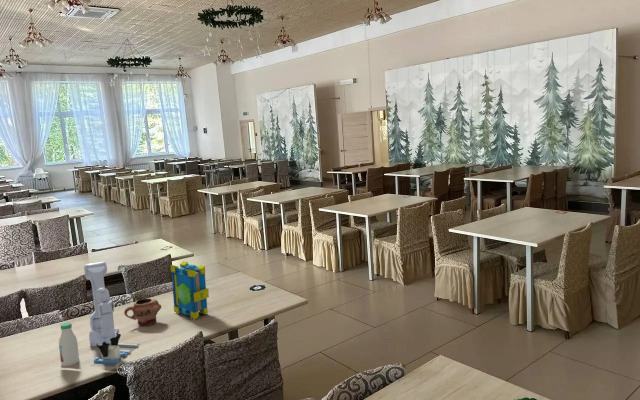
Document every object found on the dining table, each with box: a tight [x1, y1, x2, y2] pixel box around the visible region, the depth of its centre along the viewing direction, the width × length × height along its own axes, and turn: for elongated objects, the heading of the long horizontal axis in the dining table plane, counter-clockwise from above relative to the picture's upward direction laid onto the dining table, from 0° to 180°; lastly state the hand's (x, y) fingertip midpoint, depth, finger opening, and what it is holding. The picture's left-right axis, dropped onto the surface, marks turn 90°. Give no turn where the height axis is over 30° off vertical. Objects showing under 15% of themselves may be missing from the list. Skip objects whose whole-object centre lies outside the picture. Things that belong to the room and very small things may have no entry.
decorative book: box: [170, 260, 210, 320], centre depth 286 cm, size 14×23×30 cm, turn 53°
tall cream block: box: [101, 344, 120, 360], centre depth 230 cm, size 7×4×6 cm, turn 80°
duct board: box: [90, 342, 141, 368], centre depth 236 cm, size 12×24×3 cm, turn 170°
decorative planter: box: [124, 297, 162, 327], centre depth 273 cm, size 20×12×14 cm, turn 125°
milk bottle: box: [58, 322, 80, 367], centre depth 228 cm, size 8×8×20 cm
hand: (110, 353), depth 230 cm, fingers open, 7 cm apart
